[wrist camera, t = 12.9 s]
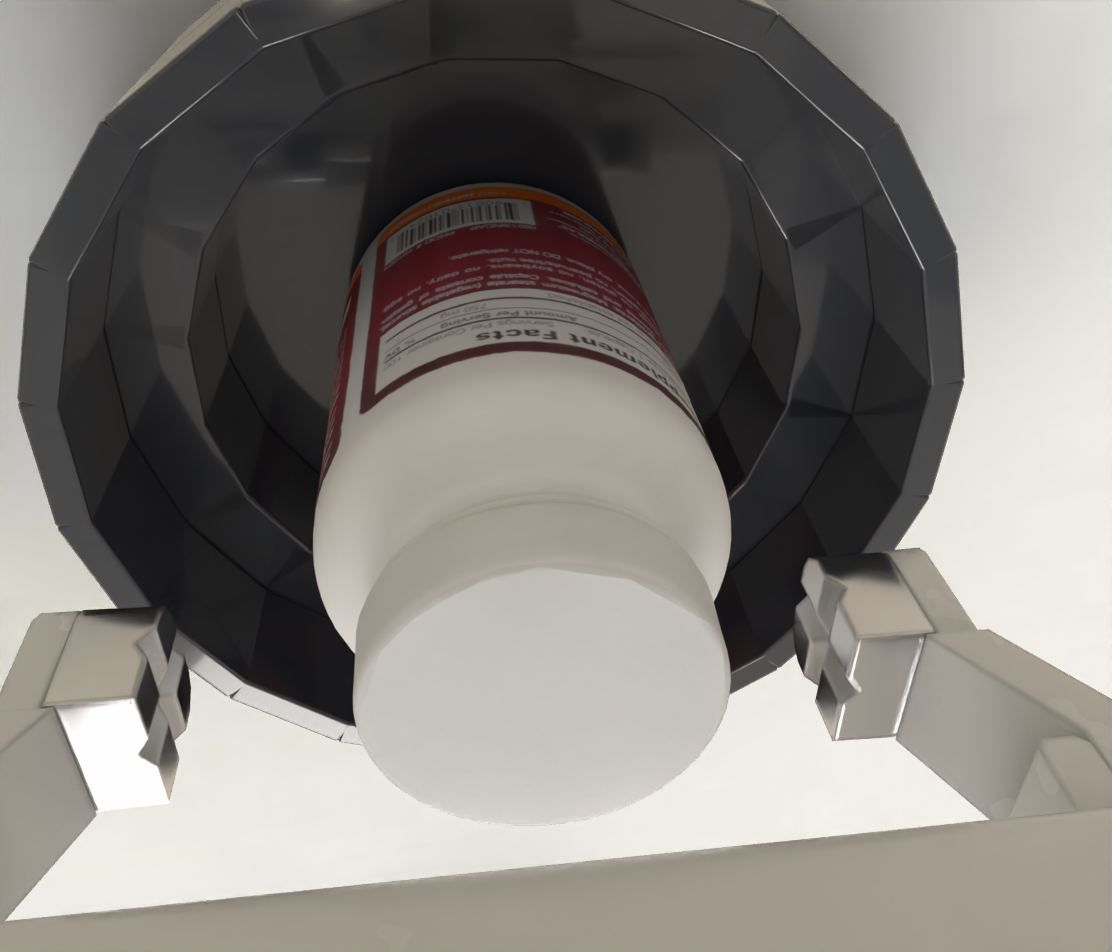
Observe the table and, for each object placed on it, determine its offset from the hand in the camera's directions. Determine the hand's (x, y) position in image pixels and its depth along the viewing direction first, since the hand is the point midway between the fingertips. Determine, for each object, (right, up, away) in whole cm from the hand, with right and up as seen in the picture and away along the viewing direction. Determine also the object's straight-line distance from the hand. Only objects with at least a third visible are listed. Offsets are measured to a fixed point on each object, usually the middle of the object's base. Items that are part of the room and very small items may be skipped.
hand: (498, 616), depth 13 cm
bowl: (-1, +6, +9) cm, 10 cm away
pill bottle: (-1, +5, +8) cm, 10 cm away
